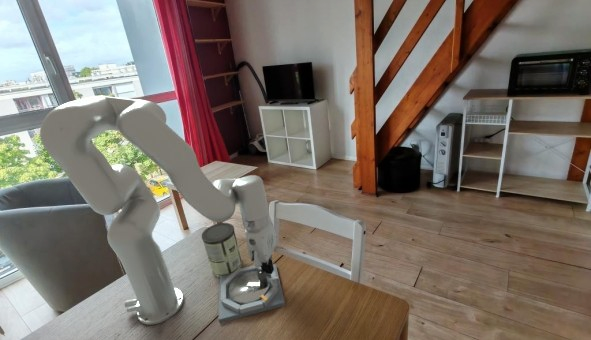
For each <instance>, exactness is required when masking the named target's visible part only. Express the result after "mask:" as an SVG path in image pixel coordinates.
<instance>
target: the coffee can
mask: <svg viewBox="0 0 591 340" xmlns="http://www.w3.org/2000/svg"><path fill="white" fill-rule="evenodd" d="M201 240H202V242H203V245H204V249H205V251H206V256H207V259H208V263H209V266H210V269H211V273H212V275H213V276H215V277H217V278H220V277H222V276H226V275H230V274H232V273H233V272H235V271H236V270H237V271H238V269H241V268H242V266H243V260H242V258H241V254H240V250H239V245H238V241H237V236H236V233H235V227H234V225H233V224H231V223H228V222H218V223H216V224H212V225H211V226H209V227H207V228H206V229H204V230H203V232H202V233H201Z"/></svg>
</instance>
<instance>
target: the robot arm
mask: <svg viewBox="0 0 591 340" xmlns="http://www.w3.org/2000/svg"><path fill="white" fill-rule="evenodd" d="M106 131H114V132H115V131H116V132H117V131H118V132H119V133H120V134H121V135H122V136H123V137H124V138H125V139H126V141H128V142H129V143H131V144H132V145H133V146H134V147H135V148H137V150H138V151H140V152H141V153H142V154H144V155H145V156H146V157H147V158H148V159H150V160H151V161H152V162H153V163H154V164H156V166H158V167H159V168H161V169H162V170H163V172H165V173H166V175H167V176H168V178H169V180H170V181H171V183H172V184H173V186H174V187H175V189H176V191H177V192H178V193H179V195H180V196H181V197H182V199H184V201H186V203H187V204H188V205H189V206H191V207H192V208H193V209H194V210H195V211H196V212H197V213H199V214H200V215H202V216H203V217H204V218H206V219H207V220H209V221H211V222H213V223H226V221H228V220H230V219H231V218H232V217H233V215H234V214H235V212H236V206H237V205H236V204H238V207H239V211H240V215H241V220H242V223H243V227H244V230H245V240H246V246H247V252H248V256H249V259H250V261H251V262H254V265H255V267H258V268H260V267H261V269H264V270H265V271H266V273H267V274H272V272H273V270H274V268H273V264H274V262H273V260H272V258H273V255H272V254H273V253H274V251H275V249H276V247H277V245H278V236H277V234H276V229H275V225H274V223H273V221H272V217H271V215H270V210H269V206H268V200H267V194H266V191H265V185H264V180H263V179H262V178H261V176H259V175H254V174H252V175H245V176H243V177H236V178H231V177H230V178H218V179H215V180H213V181H212V182H211V181H210V180H209V178H208V177H207V176H206V175H205V174H204V171H203V170H202V168H201V166H200V164H199V162H198V158H197V155H196V153H195V151H194V148H193V147H191V145H190V144H189V143H188V142H187V141H185V139H183V137H181V136H180V135H179V134H177V132H176V131H175V130H173V129H172V128H171V127H170V126H169V125H168V124H167V114H166V113H165V111H164V109H163V108H162V107H161V105H159V104H157V103H156V102H155V101H154V102H153V101H150V100H145V99H134V98H124V97H114V96H107V95H92V96H88V97H87V96H86V97H82V98H80V99H75V100H71V101H68V102H65V103H63V104H60V105H58V106H56V107H55V108H53V109H52V110H50V111H49V113H47V115H46V116H45V117H44V119H42V122H41V125H40V129H39V132H40V133H39V136H40V137H39V138H40V141H41V143H42V146H43V148H44V149H45V152H47V154H48V155H49V156H50V158H52V160H53V161H54V162H55V163H56V164H57V165H58V167H59V168H60V169H61V170H62V172H63V173H65V175H66V176H67V178H68V179H69V181H70V182H71V183H72V185H73V187H74V188H75V189H76V190H77V191H78V193H79V194H80V196H81V197H82V198H83V200H84V201H85V202H86V204H87V205H88V206H89V207H90V208H91V209H92V210H93V212H95V213H97V214H99V215H103V216H111V215H114V214H115V213H116V214H117V212H118V214H117V215H116V217H114V219H113V220H112V222H111V223H110V226H109V227H108V229H107V236H106V237H107V242H108V245H109V246H110V248H111V249H112V251H114V253H115V254H116V255H117V257H118V260H119V261H120V263H121V265H122V267H123V269H124V271H125V274H126V277H127V278H128V281H129V283H130V286H131V288H132V290H133V293H134V294H135V296H136V297H135V298H133V299H127V300H125V301H124V307H125V308H126V312H127V313H131V312H135V311H136V316H137V318H138V321H139V322H140V323H142V324H143V325H151V326H152V325H156V324H157V325H158V324H160V323H163V322H165V321H167V320H168V319H170V318H172V317H173V316H175V314H176V313H177V312H178V311H180V309H181V308H182V306H183V304H184V300H185V299H184V294H183V291H181V289H179V288H177V287H175V286H174V283H173V281H172V277H171V275H170V272H169V270H168V266H167V263H166V260H165V257H164V255H163V253H162V249H161V248H160V246H159V245H158V243H157V242H156V241H155V239H154V237H153V232H154V229H155V228H156V226H157V223H158V222H159V220H160V216H161V209H160V205H159V203H158V201H157V200H156V198H155V197H154V195H153V193H152V192H151V190H150V189H149V187H148V186H147V184H146V182H145V181H144V179H143V178H142V177H141V175H140V174H139V172H137V170H135V169H134V168H133V167H131V166H129V165H126V164H121V163H116V164H110V163H109V161H108V160H107V157H106V156H105V154H103V152H101V151H100V150H99V149H98V148H97V147H96V146H94V145H93V144H92V143H91V140H93V139H94V138H95V137H97V136H99V135H101V134H103V133H104V132H106ZM120 210H121V211H120Z"/></svg>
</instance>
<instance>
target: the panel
mask: <svg viewBox="0 0 591 340" xmlns="http://www.w3.org/2000/svg"><path fill="white" fill-rule="evenodd" d="M273 268H274V270H273V272H272V274H267V273H266V276H267V277H268V278H269V282H270V289H269V291H268V293H267V294H266V295H265V296H264V295H261V296H260V297H261V298H262V299H261V300H259V301H255V302H252V303H248V304H244V305H240V304H237V303H235V302H233V301H232V300H231V298H230V295H229V287H230V284H231V283H232V281H233V280H234V279H235V278H236V277H238V276H239V275H241V274H244V273H246V272H251V271H257V272H258V270H260V269H261V267H260V268H258V267H255V264H254V265H250V266H246V267H243V268H242V267H241V268H240V269H238V271H237V270H236V271H235V272H233V273H232V274H230V275H226V276H222V277H219V293H218V294H219V295H218V323H220V324H221V323H224V322H228V321H232V320H235V319H238V318H239V319H240V318H242V317H247V316H251V315H255V314H258V313H263V312H265V311H270V310H273V309H277V308H281V307H285V306H286V301H285V298H284V294H283V289H282V286H281V281H280V277H279V273H278V269H277V264H276V263H273Z"/></svg>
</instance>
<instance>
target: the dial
mask: <svg viewBox="0 0 591 340" xmlns="http://www.w3.org/2000/svg"><path fill="white" fill-rule="evenodd" d="M269 289H270V282H269V278H268V277H267V276H266V271H265V270H264V269H260V270H258V272H257V271H251V272H246V273H244V274H241V275H239V276H238V277H236V278H235V279H234V280H233V281H232V283H231V284H230V287H229V295H230V298H231V300H232V301H233V302H235V303H237V304H240V305H244V304H248V303H252V302H255V301H259V300H261V299H262V298H261V297H260V296H261V295H264V296H265V295H266V294H267V293H268V291H269Z"/></svg>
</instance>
